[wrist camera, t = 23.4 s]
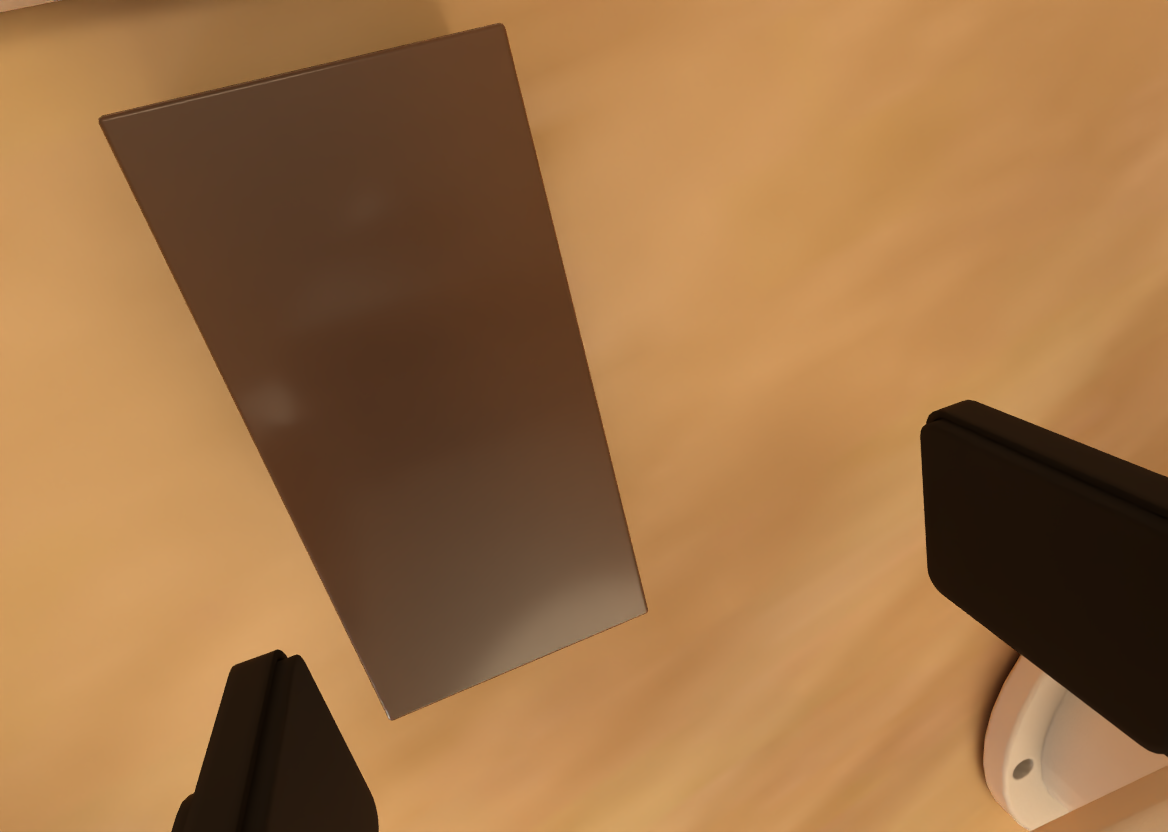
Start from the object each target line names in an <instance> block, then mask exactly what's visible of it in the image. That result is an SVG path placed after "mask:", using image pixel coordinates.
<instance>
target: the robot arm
mask: <svg viewBox="0 0 1168 832" xmlns="http://www.w3.org/2000/svg"><path fill="white" fill-rule="evenodd" d="M920 440H921V458H922V477H923V495H924V513H925V531H926V550H927V568H928V574H929V577H930V579H931V581H932V583H933V585H934V586H935V587H936V589H937V590H938V591H939V592H940V593H941V594H942V595H944V596H945V597H946V598H948V599H949V600H950V601H952V602H953V603H954V604H955V605H957V606H958V607H959V608H961V609H962V610H963V611H965V612H966V613H967V614H969V615H970V616H971V617H973V618H974V619H975V620H976V621H978V622H979V623H980V624H982V625H983V626H984V627H986V628H987V629H988V630H990V631H991V632H992V633H993V634H995V635H996V636H997V637H999V638H1000V639H1001V640H1003V641H1004V642H1005V643H1007V644H1008V645H1009V646H1011V647H1012V648H1013V649H1014V650H1016V651H1017V652H1018V653H1020V654H1021V655H1020V657H1019V658H1018V660H1017V662H1016V663H1015V665H1014V667H1013V668H1012V670H1011V672H1010V673H1009V675H1008V677H1007V678H1006V680H1005V682H1004V684H1003V686H1002V688H1001V691H1000V693H999V695H998V698H997V700H996V702H995V705H994V707H993V709H992V712H991V716H990V719H989V723H988V727H987V731H986V735H985V741H984V755H983V766H984V772H985V778H986V784H987V786H988V788H989V790H990V792H991V794H992V796H993V797H994V799H995V801H996V802H997V803H998V804H999V805H1000V806H1001V807H1002V808H1003V809H1004V810H1005V811H1006V812H1007V813H1008V814H1009V815H1010V816H1011V817H1012V818H1013V819H1014V820H1015V821H1016V822H1017V823H1018V824H1019V825H1021V826H1022V827H1024V828H1026V829H1027V830H1029V831H1030V832H1168V477H1165V476H1163V475H1160V474H1158V473H1155V472H1153V471H1150V470H1147V469H1145V468H1142V467H1140V466H1137V465H1135V464H1132V463H1130V462H1127V461H1125V460H1122V459H1120V458H1117V457H1115V456H1112V455H1110V454H1107V453H1105V452H1102V451H1100V450H1097V449H1095V448H1092V447H1090V446H1087V445H1085V444H1082V443H1080V442H1077V441H1074V440H1072V439H1069V438H1067V437H1064V436H1062V435H1059V434H1057V433H1054V432H1052V431H1049V430H1047V429H1044V428H1042V427H1039V426H1037V425H1034V424H1032V423H1029V422H1027V421H1024V420H1022V419H1019V418H1017V417H1014V416H1012V415H1009V414H1006V413H1004V412H1001V411H999V410H996V409H994V408H991V407H989V406H986V405H984V404H981V403H979V402H976V401H972V400H965V401H961V402H959V403H956V404H953V405H950V406H948V407H945V408H942V409H939V410H937V411H934V412H932V413H931V414H930V415H929V417H928V419H927V422H926V425H925V426H923V427H922V430H921V434H920ZM171 832H379V825H378V815H377V810H376V806H375V802H374V799H373V797H372V794H371V792H370V790H369V788H368V786H367V784H366V782H365V780H364V778H363V776H362V774H361V772H360V770H359V768H358V766H357V764H356V762H355V760H354V758H353V756H352V754H351V752H350V750H349V749H348V747H347V745H346V743H345V741H344V739H343V737H342V735H341V733H340V731H339V729H338V727H337V725H336V723H335V721H334V719H333V717H332V715H331V713H330V711H329V709H328V707H327V705H326V703H325V701H324V699H323V697H322V695H321V693H320V691H319V689H318V687H317V685H316V683H315V681H314V679H313V677H312V675H311V673H310V671H309V669H308V667H307V665H306V663H305V662H304V660H303V658H302V657H301V656H300V655H294V656H291V657H289V658H287V656H286V655H285V654H284V653H283V652H282V651H281V650H275V651H272V652H270V653H267V654H264V655H261V656H259V657H256V658H253V659H250V660H248V661H245V662H242V663H239V664H237V665H235V666H233V667H232V669H231V671H230V673H229V676H228V679H227V683H226V686H225V690H224V693H223V696H222V700H221V703H220V707H219V710H218V714H217V717H216V720H215V724H214V727H213V731H212V734H211V737H210V741H209V744H208V748H207V751H206V755H205V758H204V761H203V765H202V768H201V772H200V775H199V778H198V782H197V785H196V789H195V792H194V794H191V795H189V796H188V797H187V798H186V799H185V800H184V801H183V802H182V804H181V806H180V808H179V811H178V813H177V815H176V818H175V822H174V825H173V828H172V831H171Z"/></svg>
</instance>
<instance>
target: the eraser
mask: <svg viewBox="0 0 1168 832" xmlns="http://www.w3.org/2000/svg"><path fill="white" fill-rule="evenodd" d="M99 125H100V127H101V129H102V131H103V133H104V135H105V137H106V139H107V141H108V143H109V145H110V147H111V149H112V151H113V153H114V156H115V158H116V160H117V162H118V164H119V166H120V168H121V170H122V172H123V174H124V176H125V178H126V180H127V182H128V184H129V186H130V188H131V190H132V193H133V195H134V197H135V199H136V201H137V203H138V205H139V207H140V209H141V211H142V213H143V215H144V217H145V219H146V221H147V223H148V225H149V227H150V230H151V232H152V234H153V236H154V238H155V240H156V242H157V244H158V246H159V248H160V250H161V252H162V254H163V256H164V258H165V260H166V262H167V264H168V266H169V269H170V271H171V273H172V275H173V277H174V279H175V281H176V283H177V285H178V287H179V289H180V291H181V293H182V295H183V297H184V299H185V301H186V303H187V306H188V308H189V310H190V312H191V314H192V316H193V318H194V320H195V322H196V324H197V326H198V328H199V330H200V332H201V334H202V336H203V338H204V340H205V343H206V345H207V347H208V349H209V351H210V353H211V355H212V357H213V359H214V361H215V363H216V365H217V367H218V369H219V371H220V373H221V375H222V377H223V379H224V382H225V384H226V386H227V388H228V390H229V392H230V394H231V396H232V398H233V400H234V402H235V404H236V406H237V408H238V410H239V412H240V414H241V416H242V419H243V421H244V423H245V425H246V427H247V429H248V431H249V433H250V435H251V437H252V439H253V441H254V443H255V445H256V447H257V449H258V451H259V453H260V456H261V458H262V460H263V462H264V464H265V466H266V468H267V470H268V472H269V474H270V476H271V478H272V480H273V482H274V484H275V486H276V488H277V490H278V492H279V495H280V497H281V499H282V501H283V503H284V505H285V507H286V509H287V511H288V513H289V515H290V517H291V519H292V521H293V523H294V525H295V527H296V529H297V532H298V534H299V536H300V538H301V540H302V542H303V544H304V546H305V548H306V550H307V552H308V554H309V556H310V558H311V560H312V562H313V564H314V566H315V569H316V571H317V573H318V575H319V577H320V579H321V581H322V583H323V585H324V587H325V589H326V591H327V593H328V595H329V597H330V599H331V601H332V603H333V605H334V608H335V610H336V612H337V614H338V616H339V618H340V620H341V622H342V624H343V626H344V628H345V630H346V632H347V634H348V636H349V638H350V640H351V642H352V645H353V647H354V649H355V651H356V653H357V655H358V657H359V659H360V661H361V663H362V665H363V667H364V669H365V671H366V673H367V675H368V677H369V679H370V682H371V684H372V686H373V688H374V690H375V692H376V694H377V696H378V698H379V700H380V702H381V704H382V706H383V708H384V710H385V712H386V714H387V716H388V718H389V719H390V720H395V719H397V718H400V717H402V716H405V715H407V714H409V713H412V712H414V711H416V710H419V709H421V708H423V707H426V706H428V705H430V704H433V703H435V702H438V701H440V700H442V699H445V698H447V697H449V696H452V695H454V694H456V693H459V692H461V691H464V690H466V689H468V688H471V687H473V686H475V685H478V684H480V683H482V682H485V681H487V680H490V679H492V678H494V677H497V676H499V675H501V674H504V673H506V672H508V671H511V670H513V669H516V668H518V667H520V666H523V665H525V664H527V663H530V662H532V661H534V660H537V659H539V658H542V657H544V656H546V655H549V654H551V653H553V652H556V651H558V650H560V649H563V648H565V647H568V646H570V645H572V644H575V643H577V642H579V641H582V640H584V639H586V638H589V637H591V636H594V635H596V634H598V633H601V632H603V631H605V630H608V629H610V628H612V627H615V626H617V625H620V624H622V623H624V622H627V621H629V620H631V619H634V618H636V617H638V616H641V615H643V614H646V613H647V612H648V608H647V603H646V599H645V595H644V591H643V587H642V583H641V579H640V575H639V571H638V567H637V563H636V559H635V555H634V551H633V546H632V542H631V538H630V534H629V530H628V526H627V522H626V518H625V514H624V510H623V506H622V502H621V498H620V493H619V489H618V485H617V481H616V477H615V473H614V469H613V465H612V461H611V457H610V453H609V449H608V445H607V440H606V436H605V432H604V428H603V424H602V420H601V416H600V412H599V408H598V404H597V400H596V396H595V392H594V388H593V383H592V379H591V375H590V371H589V367H588V363H587V359H586V355H585V351H584V347H583V343H582V339H581V335H580V330H579V326H578V322H577V318H576V314H575V310H574V306H573V302H572V298H571V294H570V290H569V286H568V282H567V278H566V273H565V269H564V265H563V261H562V257H561V253H560V249H559V245H558V241H557V237H556V233H555V229H554V225H553V220H552V216H551V212H550V208H549V204H548V200H547V196H546V192H545V188H544V184H543V180H542V176H541V172H540V167H539V163H538V159H537V155H536V151H535V147H534V143H533V139H532V135H531V131H530V127H529V123H528V119H527V115H526V110H525V106H524V102H523V98H522V94H521V90H520V86H519V82H518V78H517V74H516V70H515V66H514V62H513V57H512V53H511V49H510V45H509V41H508V37H507V33H506V29H505V27H504V25H503V24H501V23H497V24H492V25H488V26H484V27H480V28H475V29H471V30H467V31H463V32H458V33H454V34H450V35H445V36H441V37H437V38H433V39H428V40H424V41H420V42H415V43H411V44H407V45H403V46H398V47H394V48H390V49H386V50H381V51H377V52H373V53H368V54H364V55H360V56H356V57H351V58H347V59H343V60H338V61H334V62H330V63H326V64H321V65H317V66H313V67H309V68H304V69H300V70H296V71H291V72H287V73H283V74H279V75H274V76H270V77H266V78H261V79H257V80H253V81H249V82H244V83H240V84H236V85H232V86H227V87H223V88H219V89H214V90H210V91H206V92H202V93H197V94H193V95H189V96H184V97H180V98H176V99H172V100H167V101H163V102H159V103H155V104H150V105H146V106H142V107H137V108H133V109H129V110H125V111H120V112H116V113H112V114H107V115H103V116H101V117H100V118H99Z"/></svg>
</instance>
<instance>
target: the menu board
mask: <svg viewBox="0 0 1168 832" xmlns="http://www.w3.org/2000/svg"><path fill="white" fill-rule="evenodd" d="M55 1H60V0H0V12H5V11H10V10H15V9H20V8H25V7H30V6H35V5H40V4H45V3H50V2H55Z"/></svg>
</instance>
